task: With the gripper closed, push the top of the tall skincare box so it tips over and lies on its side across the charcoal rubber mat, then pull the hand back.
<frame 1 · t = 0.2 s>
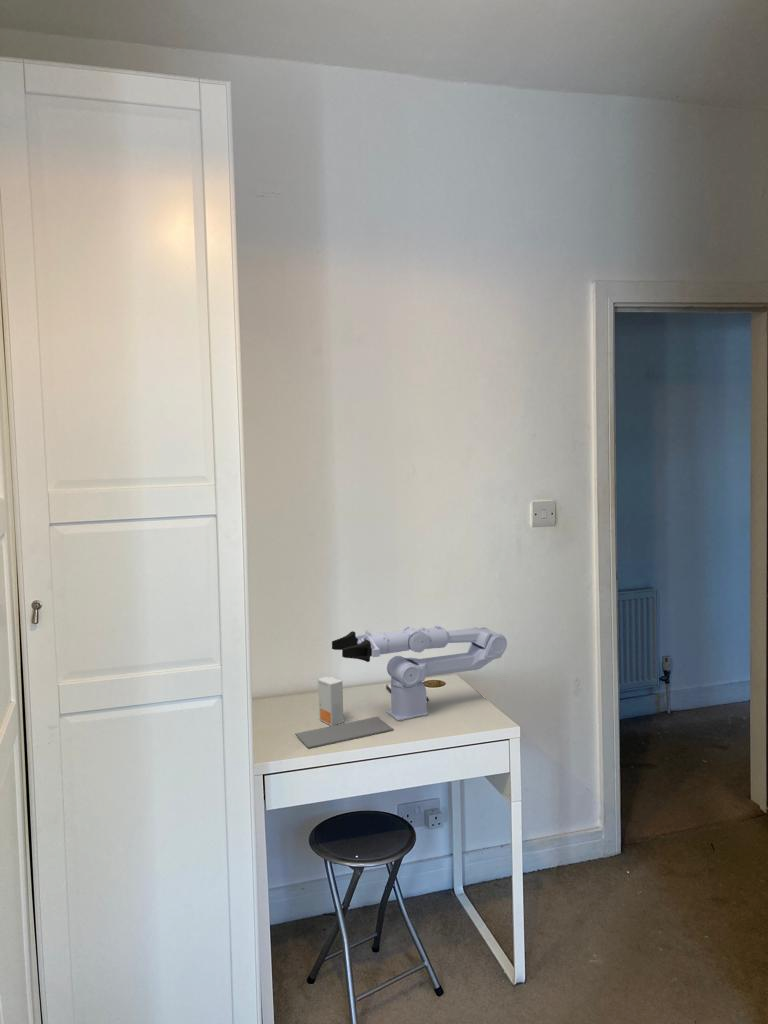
hand: (337, 649, 208), 22 cm above the table, tool horizontal, fingers open, 7 cm apart
phone case: (406, 696, 234), on the table
mat: (344, 733, 206), on the table
skincare box: (331, 722, 214), on the table
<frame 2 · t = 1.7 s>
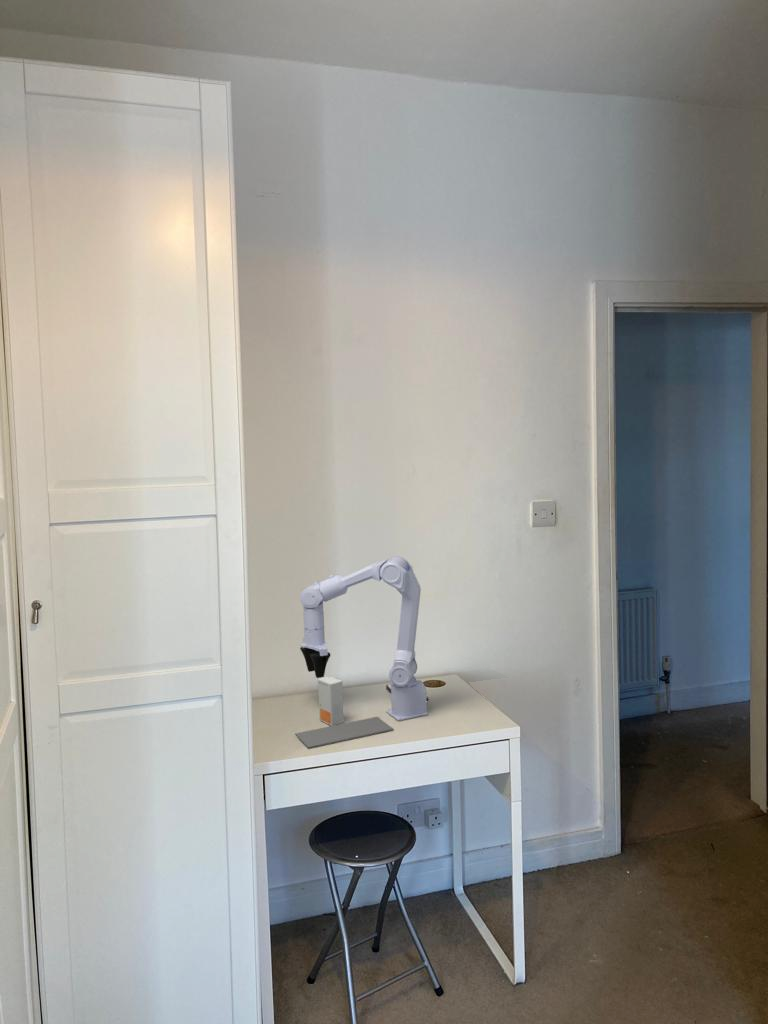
hand: (315, 674, 222), 10 cm above the table, tool pointing down, fingers open, 6 cm apart
nothing on the table moved.
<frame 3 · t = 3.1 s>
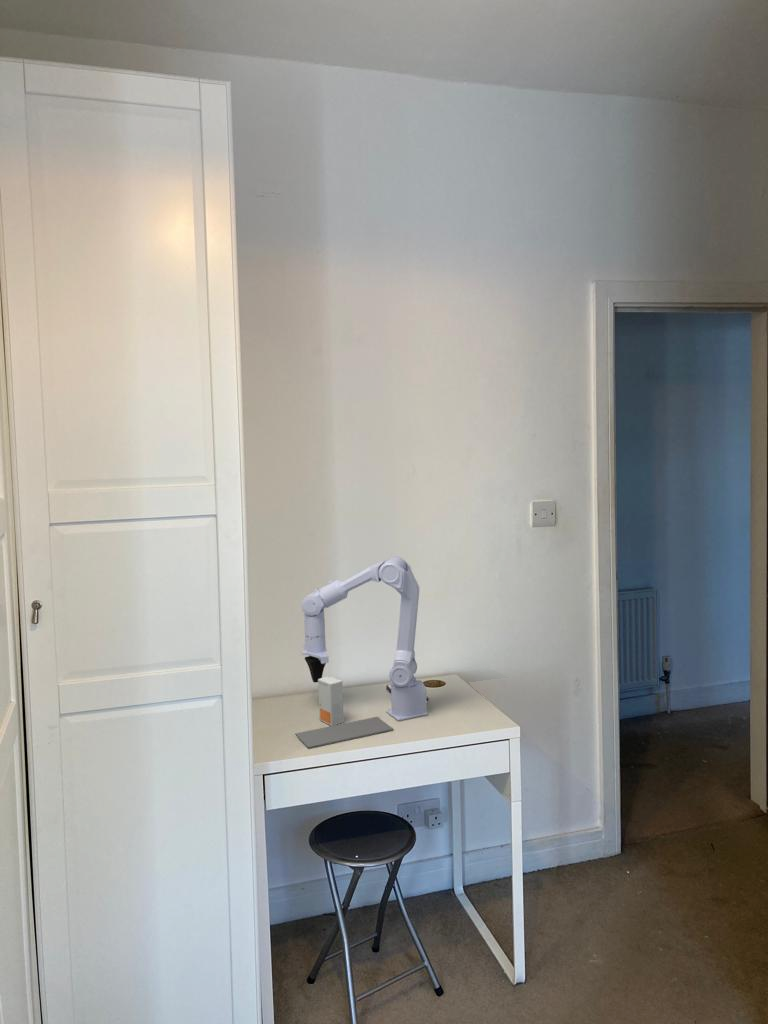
hand: (316, 681, 222), 8 cm above the table, tool pointing down, fingers closed
nothing on the table moved.
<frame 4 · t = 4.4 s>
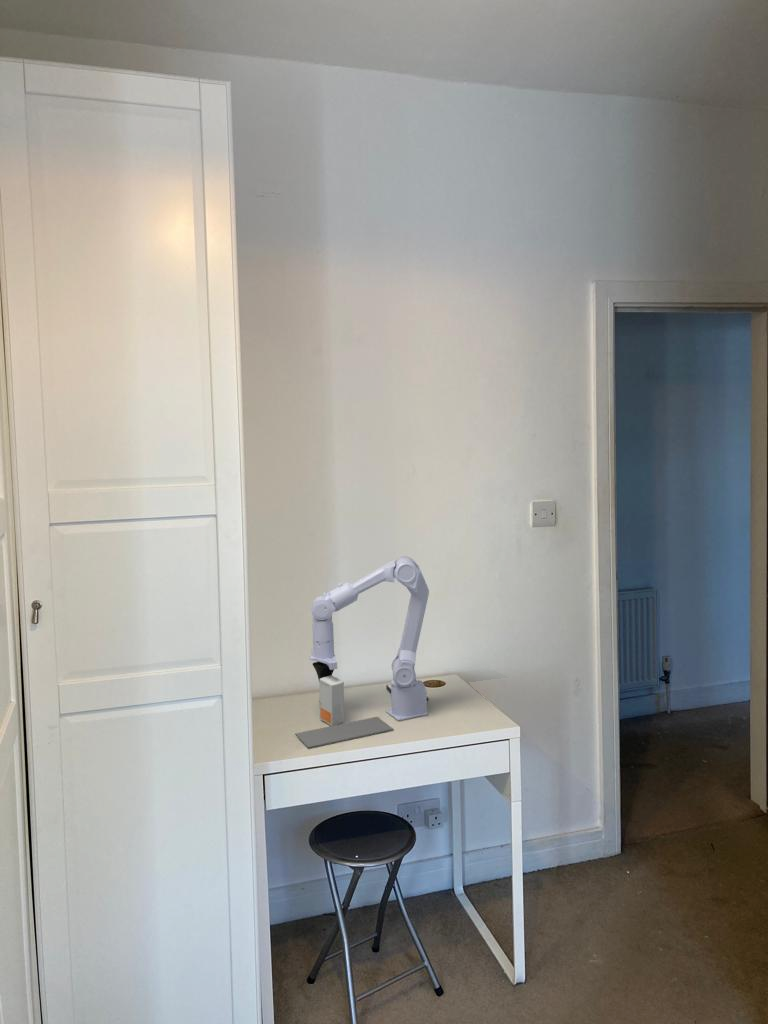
hand: (325, 687, 216), 8 cm above the table, tool pointing down, fingers closed
skincare box: (331, 721, 214), on the table, touching gripper
everything else where it was.
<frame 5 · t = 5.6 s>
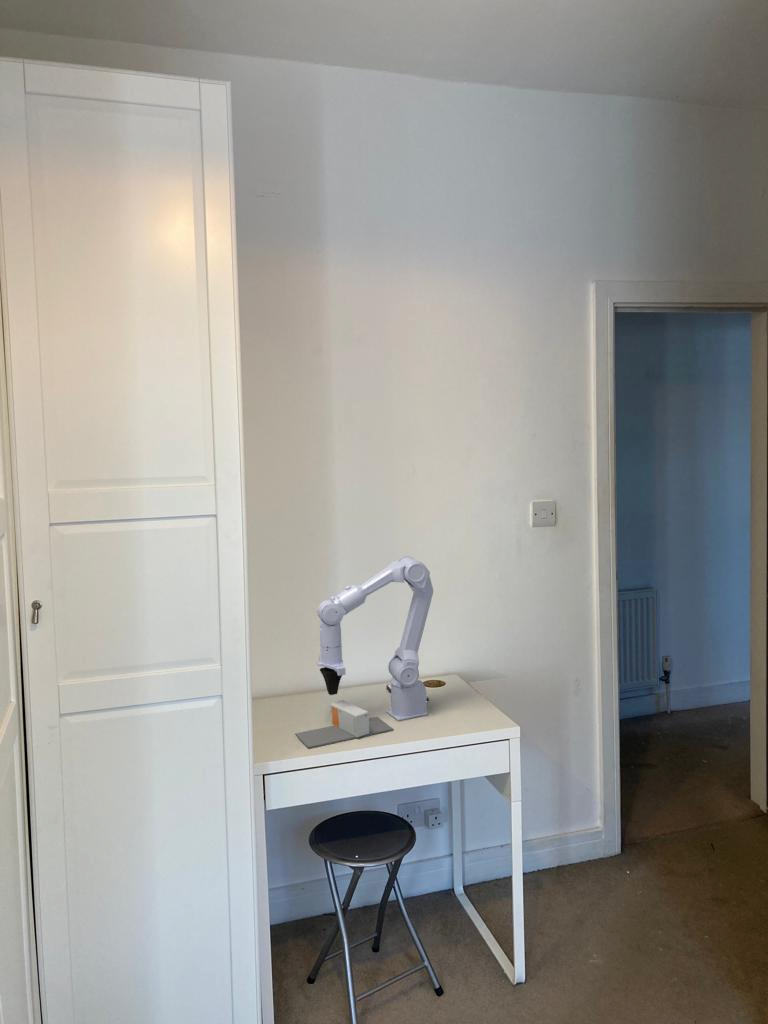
hand: (332, 693, 211), 8 cm above the table, tool pointing down, fingers closed
skincare box: (336, 712, 211), point 3 cm above the table, touching mat
everything else where it was.
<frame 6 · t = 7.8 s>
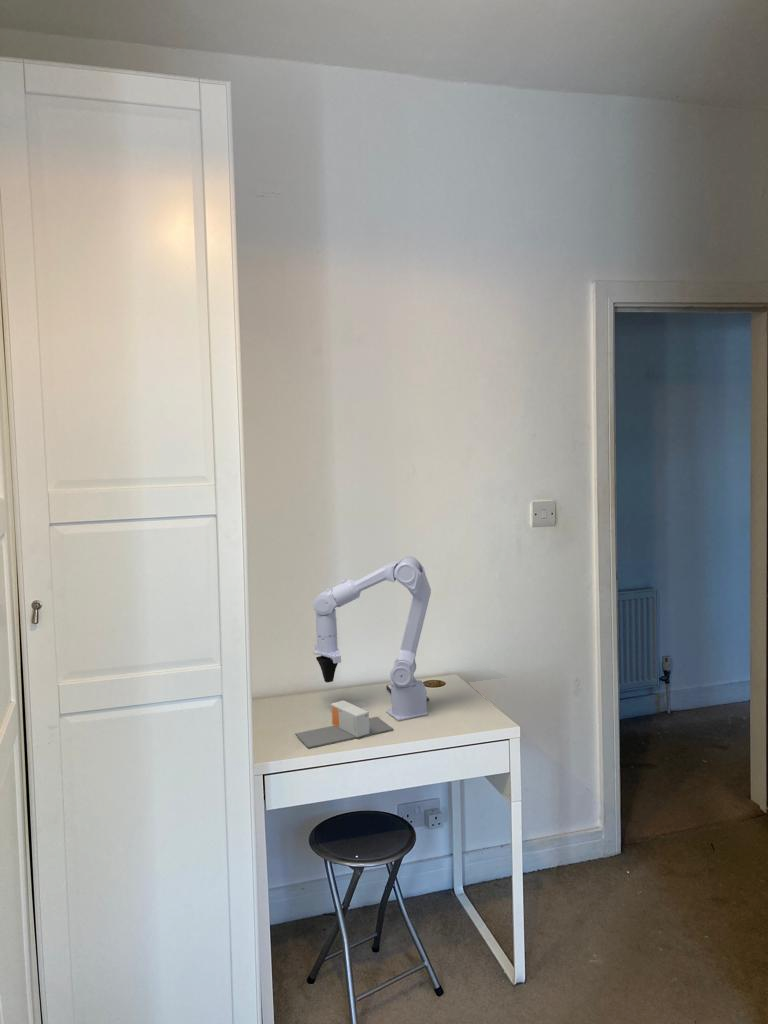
hand: (328, 681, 220), 9 cm above the table, tool pointing down, fingers closed
nothing on the table moved.
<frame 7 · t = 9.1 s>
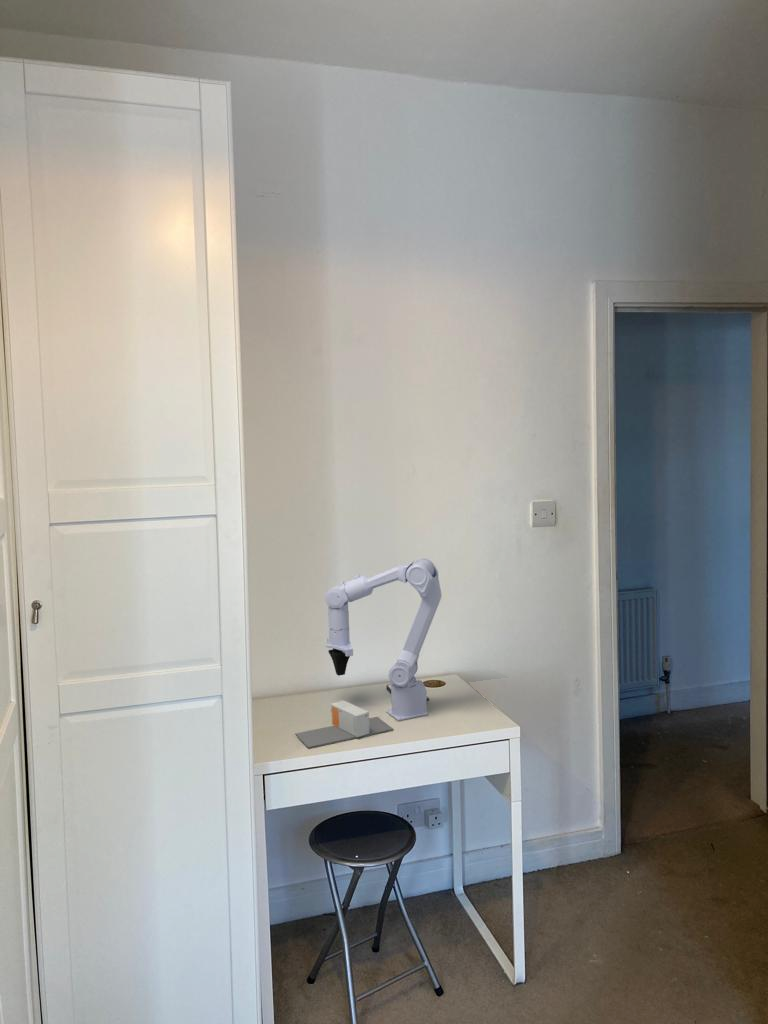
hand: (340, 674, 221), 10 cm above the table, tool pointing down, fingers closed
nothing on the table moved.
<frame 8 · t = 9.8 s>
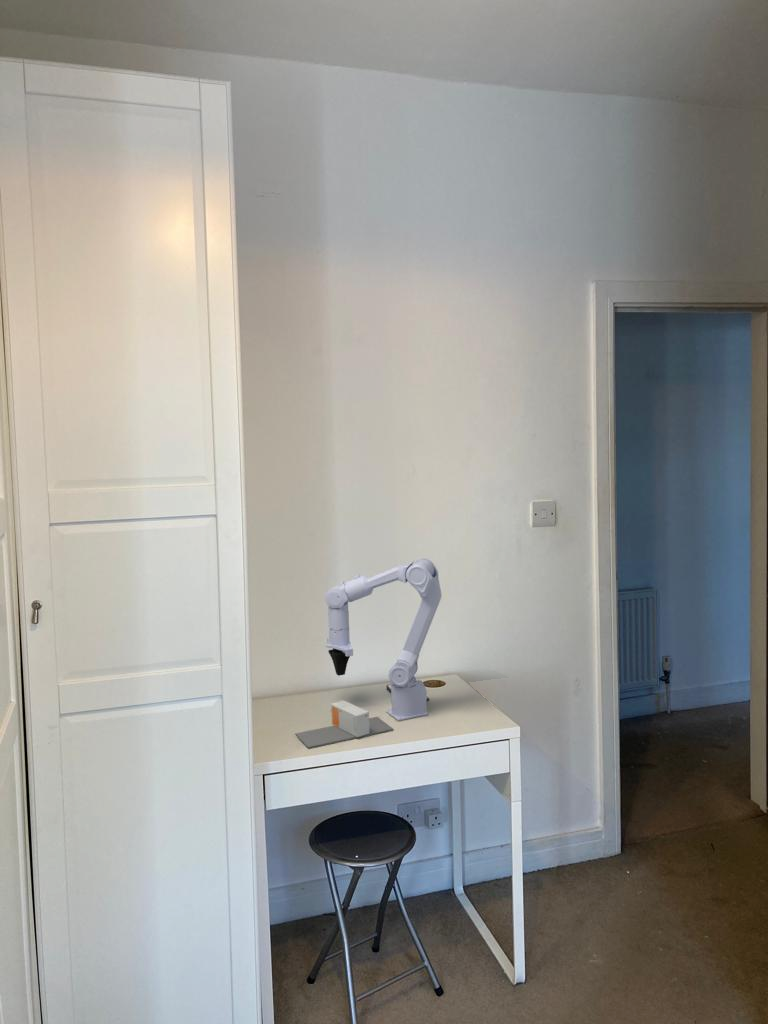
hand: (340, 674, 221), 10 cm above the table, tool pointing down, fingers closed
nothing on the table moved.
at the end: skincare box tilted 89°; skincare box touching mat; skincare box inside the target area (2.2 cm from its centre), point 3.4 cm above the table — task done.
